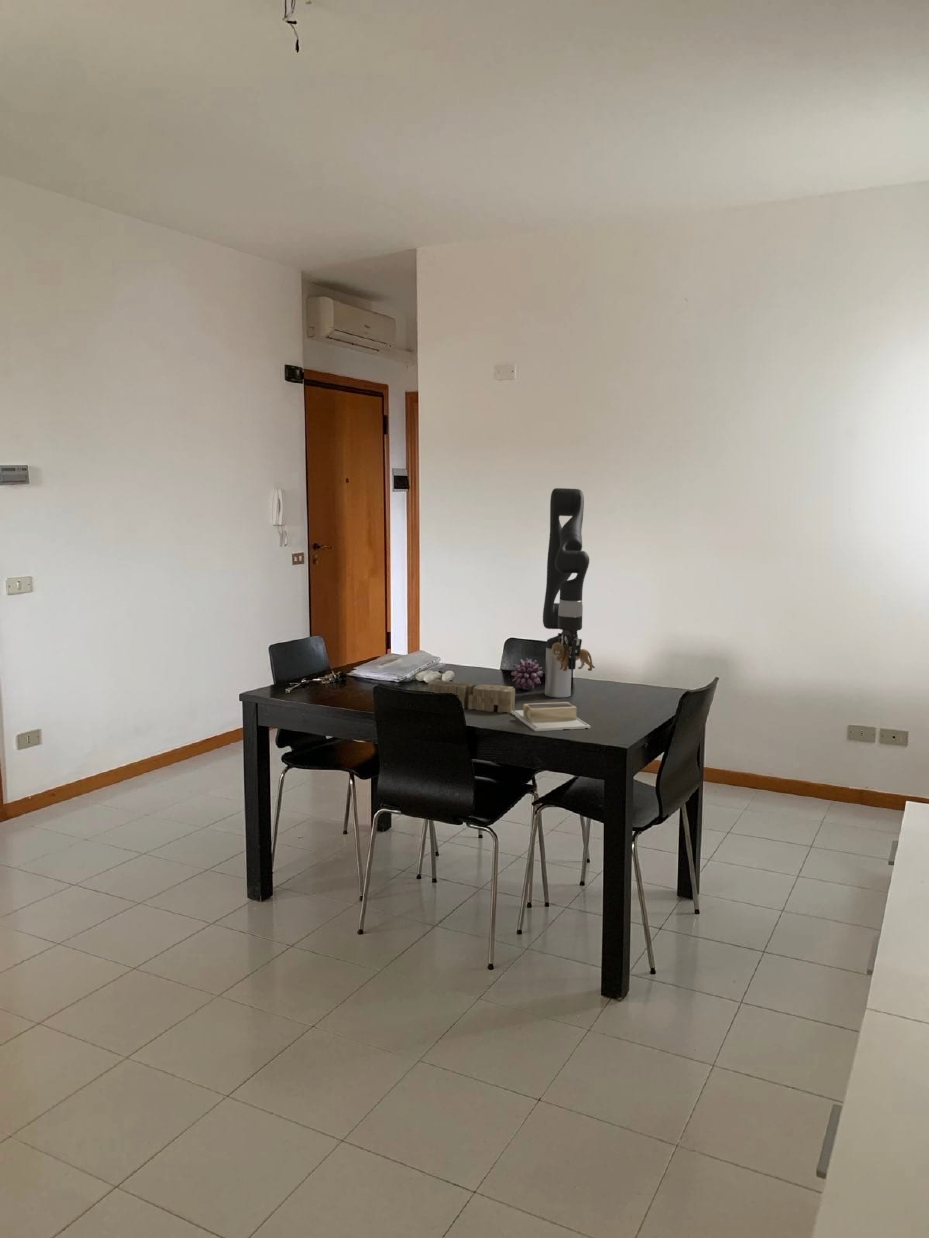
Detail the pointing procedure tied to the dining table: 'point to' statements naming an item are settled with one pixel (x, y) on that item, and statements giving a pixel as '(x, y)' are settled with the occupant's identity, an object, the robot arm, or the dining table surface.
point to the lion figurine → (562, 656)
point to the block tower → (478, 695)
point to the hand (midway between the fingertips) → (568, 667)
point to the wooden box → (549, 711)
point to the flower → (527, 673)
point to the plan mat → (551, 723)
